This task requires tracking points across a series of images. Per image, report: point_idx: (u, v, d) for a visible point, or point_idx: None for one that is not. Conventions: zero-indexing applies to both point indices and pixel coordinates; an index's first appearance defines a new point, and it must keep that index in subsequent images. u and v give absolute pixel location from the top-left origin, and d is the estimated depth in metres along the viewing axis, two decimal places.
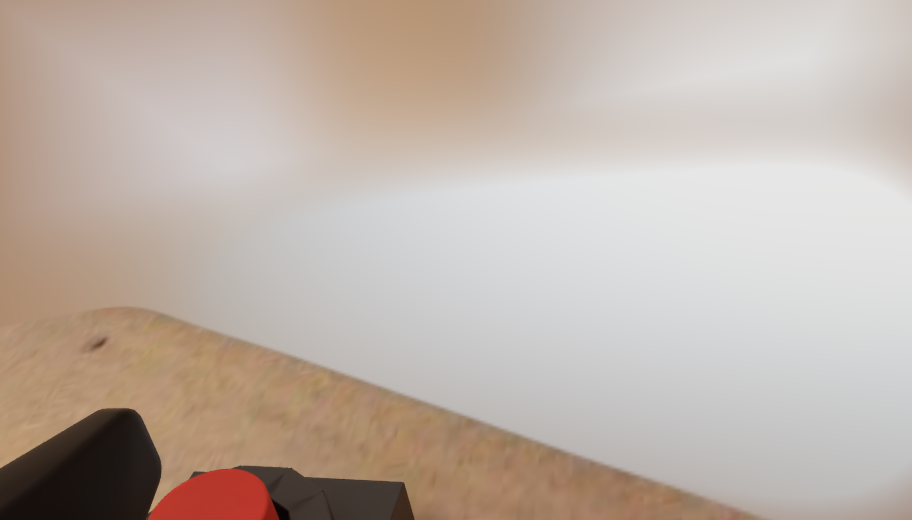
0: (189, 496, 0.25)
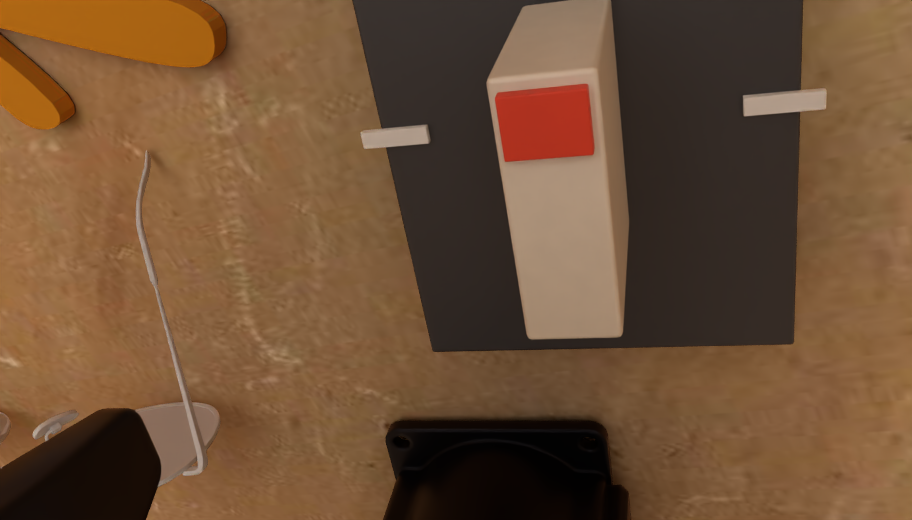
0: None
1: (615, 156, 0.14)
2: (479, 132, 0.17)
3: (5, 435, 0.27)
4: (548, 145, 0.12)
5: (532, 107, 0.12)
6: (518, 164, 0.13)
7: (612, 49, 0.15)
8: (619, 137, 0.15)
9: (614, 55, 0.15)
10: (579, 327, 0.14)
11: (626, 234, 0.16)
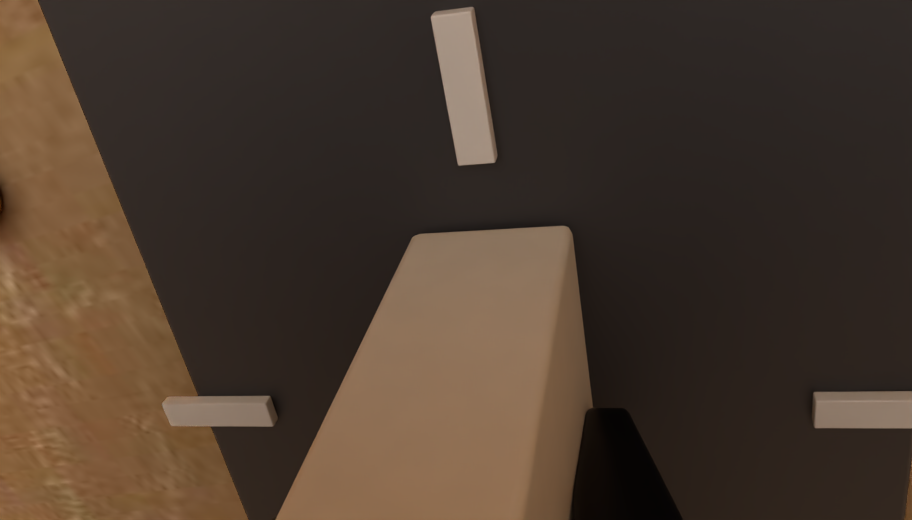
0: None
1: None
2: None
3: None
4: None
5: None
6: None
7: (574, 333, 0.08)
8: None
9: (579, 330, 0.08)
10: None
11: None
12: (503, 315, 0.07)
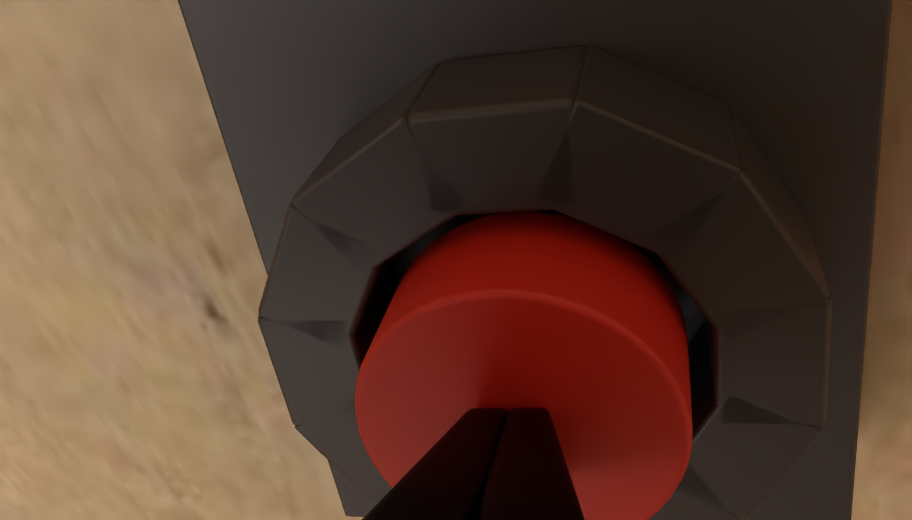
0: (427, 390, 0.09)
1: None
2: None
3: None
4: None
5: None
6: None
7: None
8: None
9: None
10: None
11: None
12: None
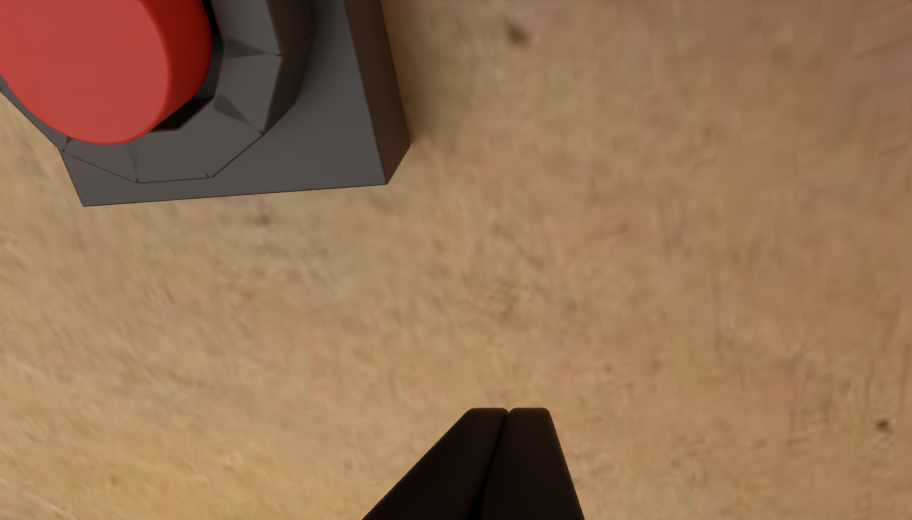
0: (22, 24, 0.15)
1: None
2: None
3: None
4: None
5: None
6: None
7: None
8: None
9: None
10: None
11: None
12: None
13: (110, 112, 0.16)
